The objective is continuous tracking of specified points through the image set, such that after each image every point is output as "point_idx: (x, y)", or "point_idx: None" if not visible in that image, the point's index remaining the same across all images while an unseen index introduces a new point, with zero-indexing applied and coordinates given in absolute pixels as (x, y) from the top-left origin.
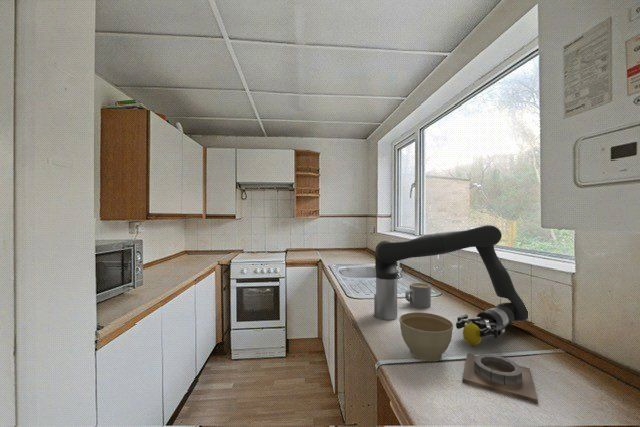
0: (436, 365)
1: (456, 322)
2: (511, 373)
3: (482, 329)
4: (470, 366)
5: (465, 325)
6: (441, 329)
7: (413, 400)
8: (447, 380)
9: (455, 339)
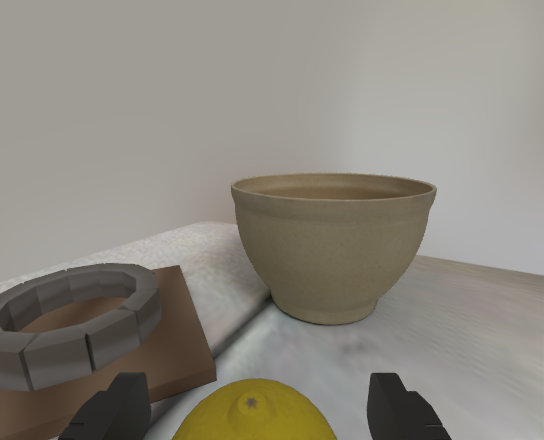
0: (260, 281)
1: (425, 402)
2: (34, 283)
3: (115, 406)
4: (174, 304)
5: (320, 415)
6: (331, 261)
7: (226, 228)
8: (210, 264)
9: None
